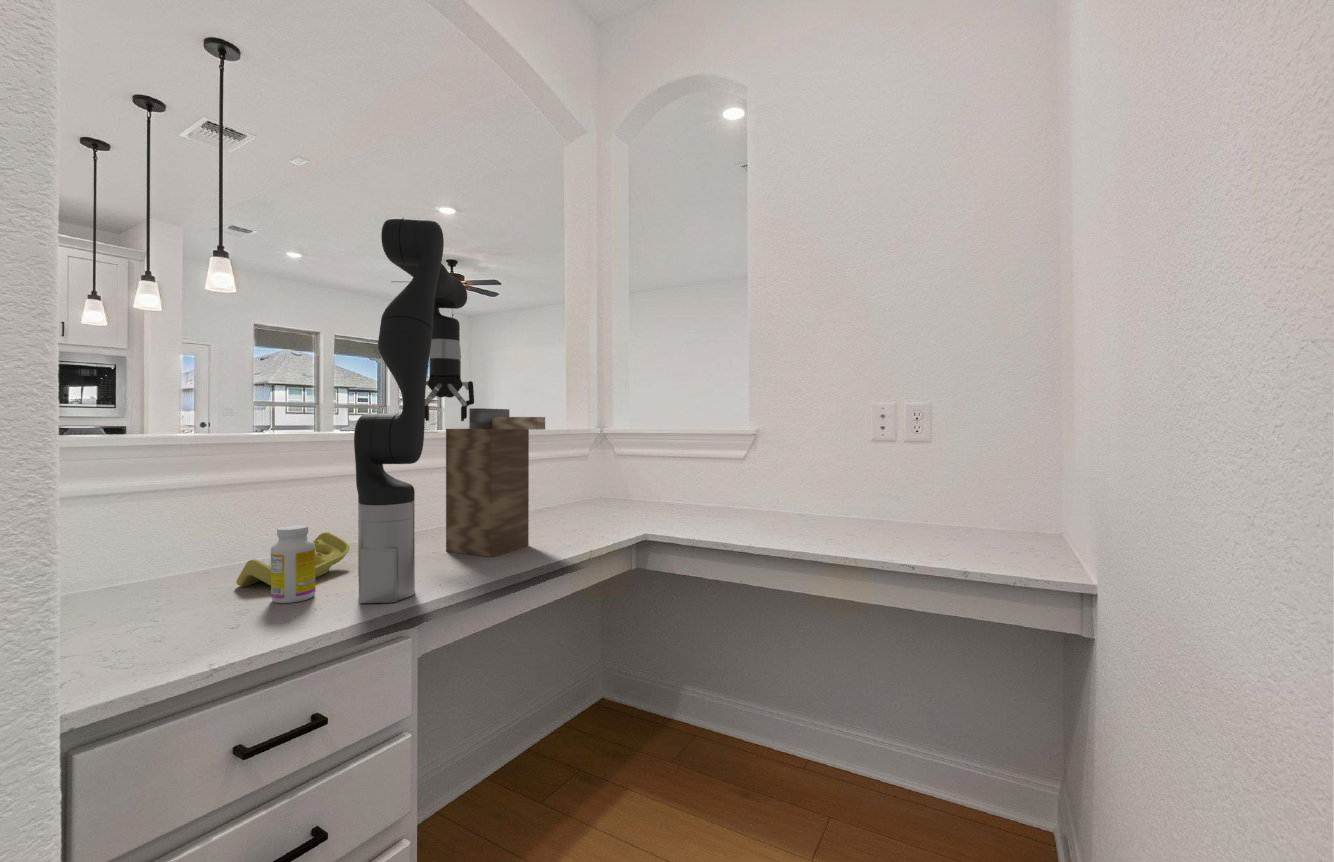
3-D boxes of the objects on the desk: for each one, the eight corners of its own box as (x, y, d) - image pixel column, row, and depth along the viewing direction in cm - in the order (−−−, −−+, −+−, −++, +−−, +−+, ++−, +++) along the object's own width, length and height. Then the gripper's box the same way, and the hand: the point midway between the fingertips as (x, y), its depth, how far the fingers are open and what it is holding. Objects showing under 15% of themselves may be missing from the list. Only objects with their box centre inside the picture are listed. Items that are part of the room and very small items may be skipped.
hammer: (553, 429, 142) (553, 409, 142) (528, 429, 132) (528, 408, 132) (496, 428, 149) (496, 409, 148) (469, 429, 139) (469, 408, 139)
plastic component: (289, 580, 107) (244, 555, 108) (275, 613, 108) (231, 588, 109) (359, 548, 126) (320, 527, 127) (347, 577, 127) (309, 556, 128)
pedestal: (528, 545, 148) (528, 428, 147) (491, 557, 135) (491, 429, 134) (485, 540, 153) (485, 428, 153) (446, 551, 140) (445, 428, 140)
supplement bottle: (319, 591, 107) (318, 523, 107) (310, 602, 101) (310, 529, 101) (277, 595, 105) (276, 525, 105) (265, 606, 99) (265, 531, 98)
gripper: (413, 355, 143) (413, 420, 143) (473, 357, 147) (473, 421, 147) (417, 358, 150) (417, 420, 150) (474, 360, 154) (474, 421, 154)
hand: (445, 420), depth 149 cm, fingers open, 8 cm apart
